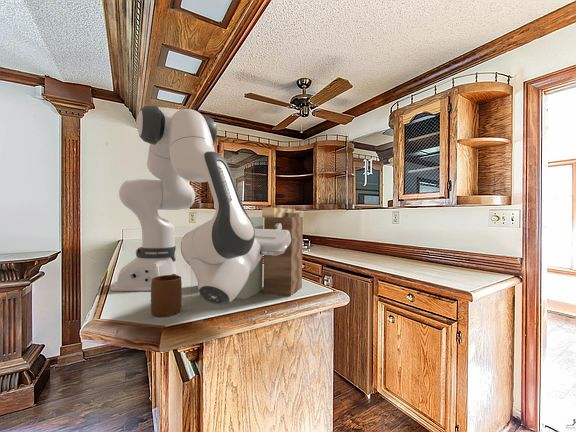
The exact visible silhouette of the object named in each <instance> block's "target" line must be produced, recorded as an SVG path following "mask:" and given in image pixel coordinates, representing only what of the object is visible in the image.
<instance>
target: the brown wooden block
mask: <svg viewBox="0 0 576 432" xmlns="http://www.w3.org/2000/svg"><path fill="white" fill-rule="evenodd" d="M303 219H304V218H303V216H300V212H295V213H285V217H263V229H274V230H275V229H276V228H275V225H276V223H281V225H282V229H281V230H288V231H289V232H290V235H291V243H290V245H289V246H288V247H287V249H286V250H285V251H284V253H283V254H280V255H277V256H272V255H263V279H262V291H263V293H264V294H268V295H269V294H271V295H276V296H278V295H280V296H285V295H286V296H287V297H292V296H293V295H295V294H296V293H297V292H298V291H299V290H300V289H302V287H303V286H302V285H303V233H304V231H303V230H304V229H303V228H304V227H303V225H304V224H303V223H304V220H303ZM291 295H292V296H291Z"/></svg>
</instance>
